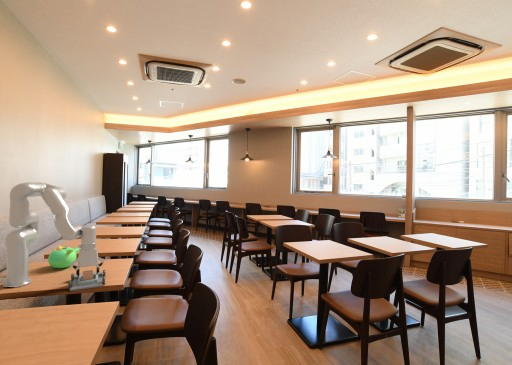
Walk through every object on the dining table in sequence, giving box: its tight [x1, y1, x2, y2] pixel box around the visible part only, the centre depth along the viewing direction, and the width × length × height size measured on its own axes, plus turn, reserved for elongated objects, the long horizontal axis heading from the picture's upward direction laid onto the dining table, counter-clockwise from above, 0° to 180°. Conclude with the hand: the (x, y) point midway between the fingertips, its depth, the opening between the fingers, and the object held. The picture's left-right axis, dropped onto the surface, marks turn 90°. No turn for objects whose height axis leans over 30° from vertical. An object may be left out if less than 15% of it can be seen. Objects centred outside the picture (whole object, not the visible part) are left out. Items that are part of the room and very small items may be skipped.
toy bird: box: [47, 245, 81, 269], centre depth 190 cm, size 18×17×15 cm
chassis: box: [67, 269, 106, 292], centre depth 163 cm, size 18×21×4 cm
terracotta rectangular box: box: [82, 268, 94, 281], centre depth 163 cm, size 5×7×6 cm
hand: (87, 275), depth 163 cm, fingers open, 9 cm apart
